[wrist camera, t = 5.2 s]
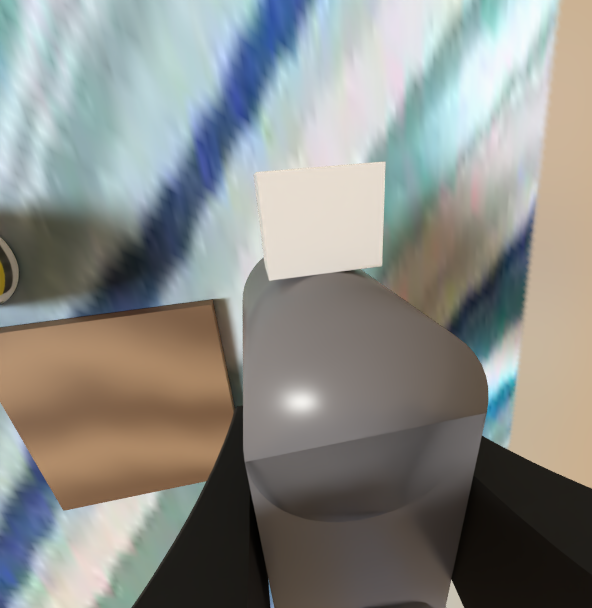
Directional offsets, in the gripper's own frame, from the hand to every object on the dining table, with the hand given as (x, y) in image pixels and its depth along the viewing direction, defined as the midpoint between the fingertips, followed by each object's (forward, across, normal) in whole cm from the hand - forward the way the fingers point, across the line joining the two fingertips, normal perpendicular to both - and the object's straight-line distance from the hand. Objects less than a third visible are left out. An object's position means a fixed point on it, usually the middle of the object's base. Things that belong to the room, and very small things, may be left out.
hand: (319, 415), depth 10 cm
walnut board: (+9, +10, +5) cm, 14 cm away
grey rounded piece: (+2, 0, 0) cm, 2 cm away
